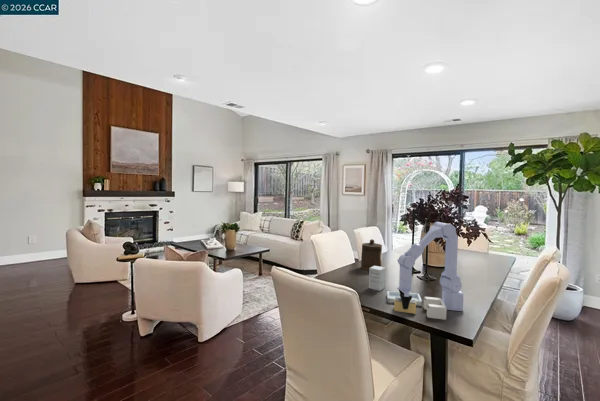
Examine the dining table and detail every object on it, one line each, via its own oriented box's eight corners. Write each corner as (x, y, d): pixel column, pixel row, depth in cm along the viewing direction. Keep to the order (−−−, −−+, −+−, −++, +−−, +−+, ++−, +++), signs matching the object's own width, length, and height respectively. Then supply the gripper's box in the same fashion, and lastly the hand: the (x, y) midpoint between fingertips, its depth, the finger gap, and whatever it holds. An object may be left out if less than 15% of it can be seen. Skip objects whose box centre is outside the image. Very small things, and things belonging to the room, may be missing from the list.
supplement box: (373, 285, 188) (374, 265, 187) (385, 288, 183) (385, 267, 182) (368, 288, 182) (369, 267, 181) (380, 291, 177) (380, 269, 177)
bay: (440, 308, 152) (440, 298, 152) (446, 319, 140) (446, 308, 140) (423, 307, 154) (423, 296, 154) (427, 317, 142) (428, 306, 141)
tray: (418, 298, 167) (419, 293, 167) (422, 306, 155) (422, 301, 155) (386, 294, 171) (387, 290, 171) (387, 302, 159) (387, 298, 159)
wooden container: (385, 269, 224) (386, 240, 223) (370, 272, 217) (371, 241, 216) (371, 265, 237) (372, 237, 236) (356, 267, 230) (357, 238, 229)
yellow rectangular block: (415, 310, 151) (415, 299, 150) (415, 314, 146) (416, 303, 146) (394, 307, 154) (395, 297, 154) (394, 310, 149) (394, 300, 149)
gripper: (396, 274, 158) (395, 299, 158) (398, 282, 144) (397, 310, 144) (410, 275, 156) (409, 301, 157) (413, 284, 142) (412, 312, 143)
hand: (404, 306), depth 150 cm, fingers open, 7 cm apart
